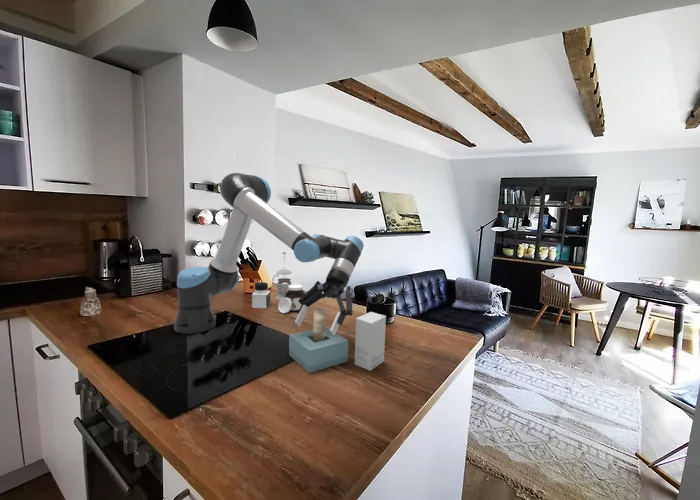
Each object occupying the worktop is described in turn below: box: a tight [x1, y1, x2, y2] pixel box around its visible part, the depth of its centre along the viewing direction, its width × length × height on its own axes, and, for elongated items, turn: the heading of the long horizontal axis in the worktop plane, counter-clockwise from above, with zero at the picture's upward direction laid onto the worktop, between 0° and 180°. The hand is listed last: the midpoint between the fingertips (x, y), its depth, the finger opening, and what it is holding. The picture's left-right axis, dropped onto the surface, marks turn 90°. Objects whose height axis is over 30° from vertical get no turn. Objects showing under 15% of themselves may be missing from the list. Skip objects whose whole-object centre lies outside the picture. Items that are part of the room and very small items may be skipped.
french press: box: [271, 251, 292, 300], centre depth 174 cm, size 10×12×25 cm
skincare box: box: [354, 311, 387, 371], centre depth 100 cm, size 8×7×16 cm
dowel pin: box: [312, 308, 327, 342], centre depth 103 cm, size 4×4×14 cm
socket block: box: [288, 326, 349, 374], centre depth 103 cm, size 14×14×7 cm
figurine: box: [80, 286, 102, 316], centre depth 138 cm, size 7×7×12 cm
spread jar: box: [277, 284, 307, 314], centre depth 151 cm, size 12×11×12 cm
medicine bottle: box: [251, 281, 271, 309], centre depth 156 cm, size 7×7×12 cm
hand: (314, 328), depth 101 cm, fingers open, 13 cm apart
